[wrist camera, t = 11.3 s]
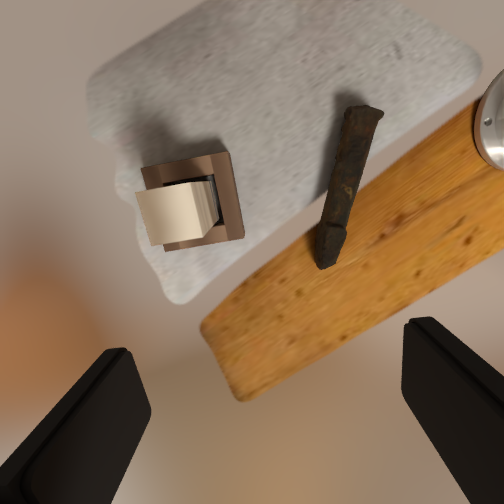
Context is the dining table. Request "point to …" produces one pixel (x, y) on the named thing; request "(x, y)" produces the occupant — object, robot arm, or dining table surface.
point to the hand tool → (345, 181)
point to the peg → (178, 212)
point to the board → (225, 187)
